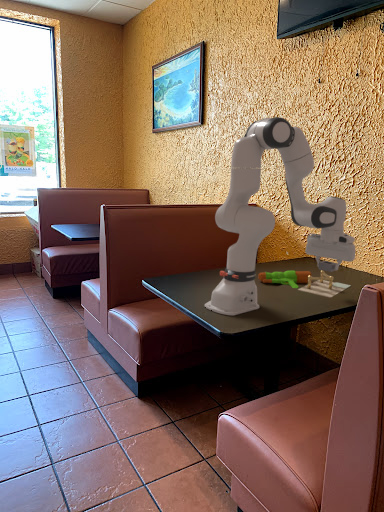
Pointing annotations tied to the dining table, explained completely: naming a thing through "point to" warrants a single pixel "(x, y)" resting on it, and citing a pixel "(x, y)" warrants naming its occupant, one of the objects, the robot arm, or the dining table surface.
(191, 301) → the dining table surface
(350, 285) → the pad
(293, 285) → the toy
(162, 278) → the dining table surface
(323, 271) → the rope post barrier
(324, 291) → the board
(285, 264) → the dining table surface
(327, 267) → the grey square box
